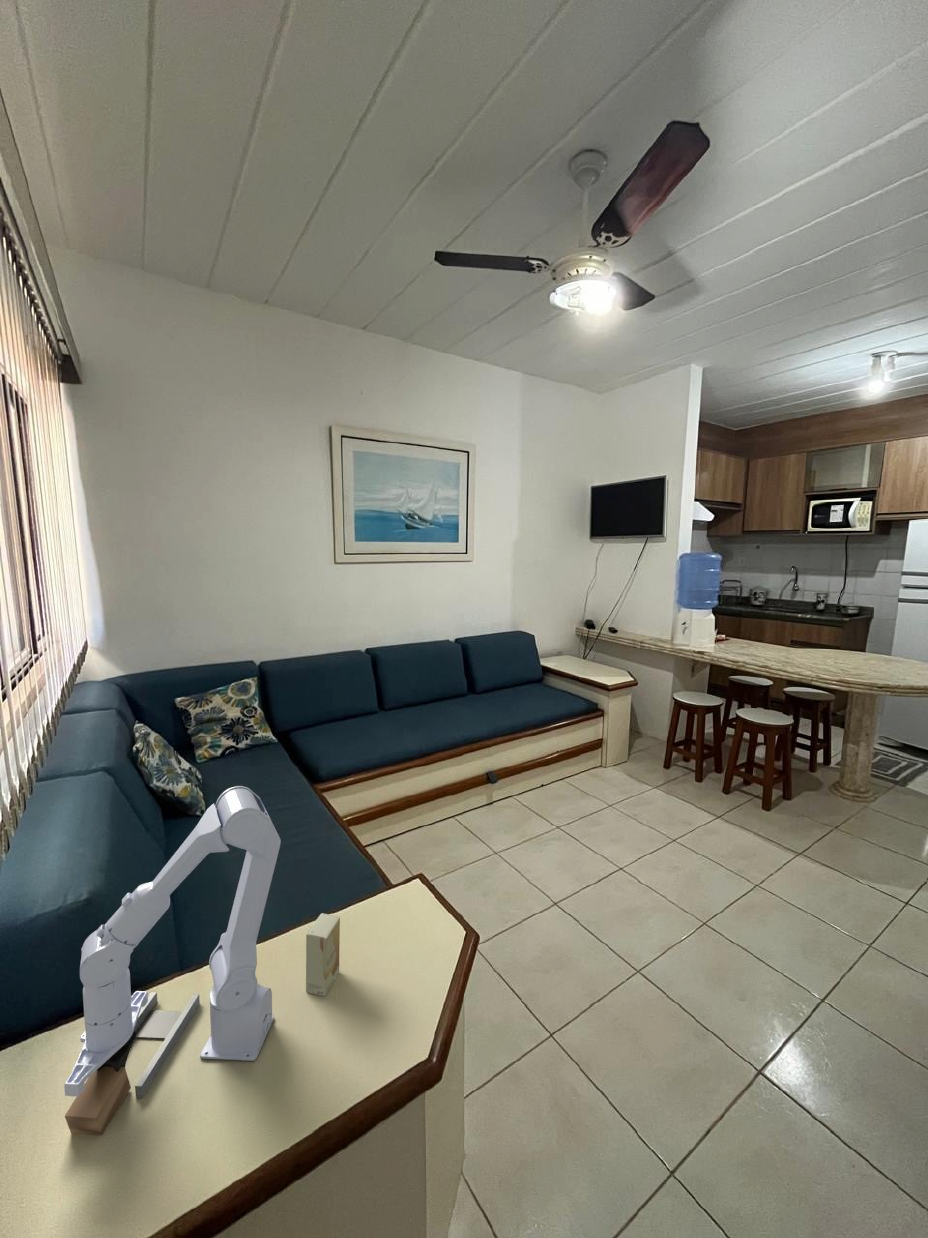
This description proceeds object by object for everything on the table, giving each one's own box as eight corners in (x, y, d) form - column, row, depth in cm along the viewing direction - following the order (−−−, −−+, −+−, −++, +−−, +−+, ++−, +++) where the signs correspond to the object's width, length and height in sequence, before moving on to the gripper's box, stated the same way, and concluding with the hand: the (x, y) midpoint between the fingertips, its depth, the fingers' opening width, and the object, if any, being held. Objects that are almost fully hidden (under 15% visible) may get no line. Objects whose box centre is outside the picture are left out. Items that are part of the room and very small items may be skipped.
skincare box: (325, 997, 93) (325, 940, 92) (305, 993, 94) (304, 935, 92) (340, 970, 99) (340, 915, 98) (321, 966, 100) (321, 911, 99)
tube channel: (199, 1003, 91) (199, 994, 91) (142, 1097, 75) (141, 1086, 75) (152, 1001, 91) (151, 991, 91) (84, 1094, 75) (83, 1083, 75)
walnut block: (130, 1087, 76) (124, 1067, 74) (103, 1139, 70) (95, 1118, 69) (102, 1086, 76) (95, 1065, 75) (72, 1137, 70) (64, 1116, 69)
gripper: (116, 966, 81) (120, 1038, 82) (39, 1055, 66) (46, 1139, 68) (158, 968, 81) (162, 1040, 82) (91, 1058, 66) (96, 1142, 68)
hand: (112, 1085), depth 75 cm, fingers closed, pressing on walnut block
